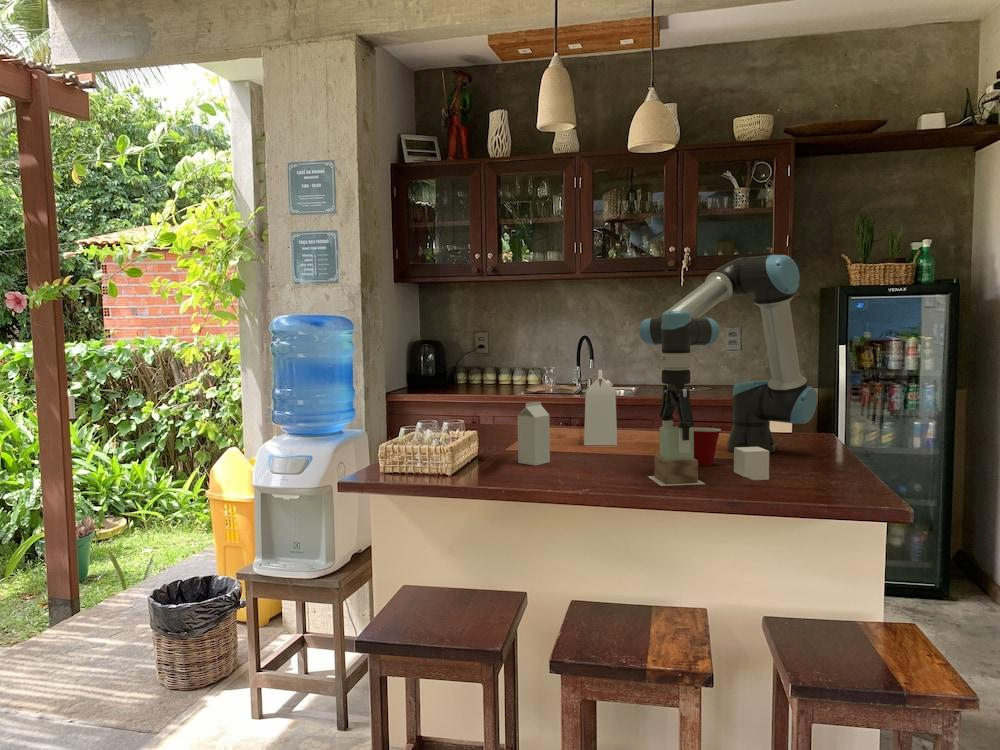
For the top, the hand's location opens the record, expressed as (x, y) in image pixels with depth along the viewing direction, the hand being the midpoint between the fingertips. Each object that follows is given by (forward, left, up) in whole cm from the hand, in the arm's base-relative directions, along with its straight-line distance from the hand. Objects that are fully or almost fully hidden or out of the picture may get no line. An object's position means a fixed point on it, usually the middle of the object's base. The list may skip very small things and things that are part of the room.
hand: (675, 448), depth 206 cm
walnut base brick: (0, 0, -9) cm, 9 cm away
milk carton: (+33, -36, -10) cm, 50 cm away
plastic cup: (-15, -20, -10) cm, 27 cm away
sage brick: (0, 0, -3) cm, 3 cm away
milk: (+4, -68, -10) cm, 69 cm away
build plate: (0, 0, -10) cm, 10 cm away
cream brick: (-23, -4, -10) cm, 25 cm away
